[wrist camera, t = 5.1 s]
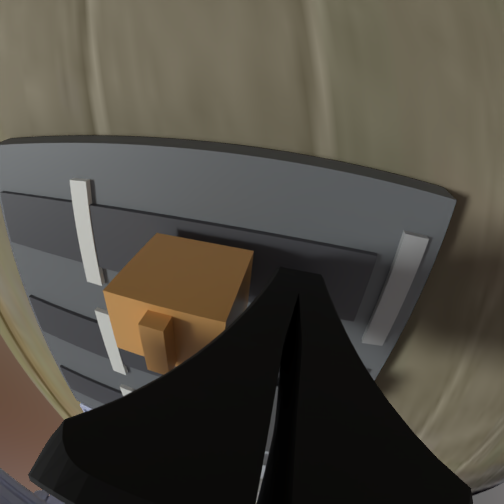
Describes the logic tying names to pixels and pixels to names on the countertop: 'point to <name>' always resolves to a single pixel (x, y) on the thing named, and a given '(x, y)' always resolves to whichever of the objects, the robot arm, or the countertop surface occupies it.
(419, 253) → the control board
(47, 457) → the robot arm
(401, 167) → the countertop surface
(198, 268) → the orange slider knob
